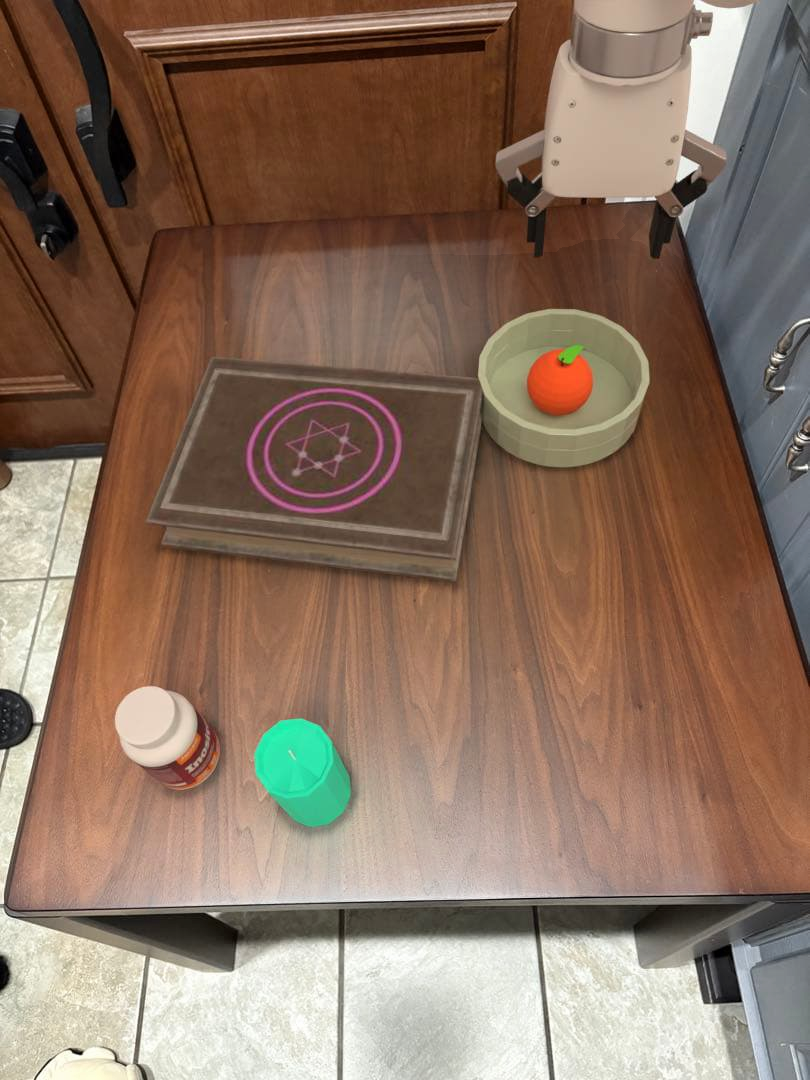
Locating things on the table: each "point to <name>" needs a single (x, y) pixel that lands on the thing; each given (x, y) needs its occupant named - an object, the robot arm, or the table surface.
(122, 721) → the pill bottle
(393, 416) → the book
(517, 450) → the bowl
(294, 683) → the table surface
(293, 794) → the candle
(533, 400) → the clementine
